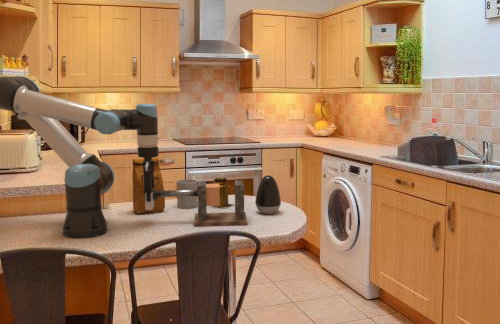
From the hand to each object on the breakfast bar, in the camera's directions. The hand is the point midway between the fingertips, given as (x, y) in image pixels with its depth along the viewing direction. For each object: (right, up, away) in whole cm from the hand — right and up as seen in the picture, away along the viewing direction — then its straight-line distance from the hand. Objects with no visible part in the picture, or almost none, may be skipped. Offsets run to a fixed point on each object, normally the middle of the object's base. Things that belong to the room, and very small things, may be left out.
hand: (149, 207), depth 203 cm
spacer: (+23, +1, +2) cm, 24 cm away
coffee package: (-4, -3, +19) cm, 19 cm away
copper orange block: (+26, -2, +27) cm, 38 cm away
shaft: (+10, +3, 0) cm, 11 cm away
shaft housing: (+26, -5, +3) cm, 27 cm away
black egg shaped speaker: (+45, -3, +15) cm, 47 cm away
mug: (+11, -2, +28) cm, 30 cm away
